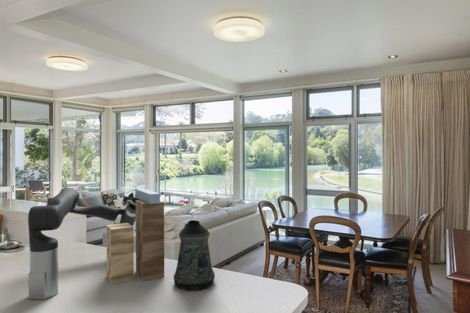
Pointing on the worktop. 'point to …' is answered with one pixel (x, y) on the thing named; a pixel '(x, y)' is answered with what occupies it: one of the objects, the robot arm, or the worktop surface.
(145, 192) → the bar
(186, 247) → the beer stein
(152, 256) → the walnut stand
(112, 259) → the oak tower
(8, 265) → the worktop surface
